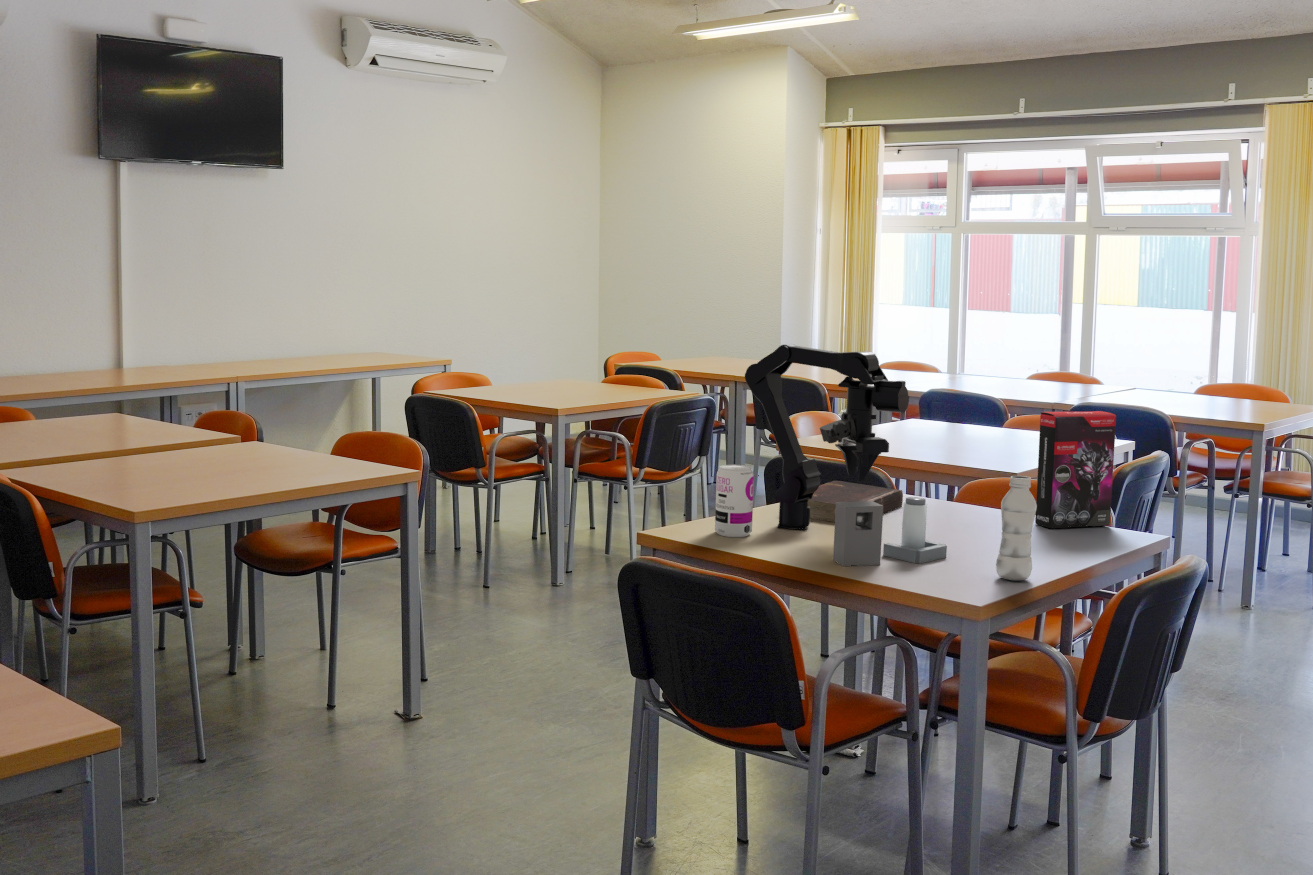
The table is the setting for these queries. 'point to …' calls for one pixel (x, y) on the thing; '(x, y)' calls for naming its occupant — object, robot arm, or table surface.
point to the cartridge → (914, 523)
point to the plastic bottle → (1016, 530)
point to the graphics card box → (1075, 469)
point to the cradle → (916, 552)
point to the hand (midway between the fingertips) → (856, 479)
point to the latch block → (857, 533)
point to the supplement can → (734, 500)
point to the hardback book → (850, 498)
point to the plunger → (860, 519)
